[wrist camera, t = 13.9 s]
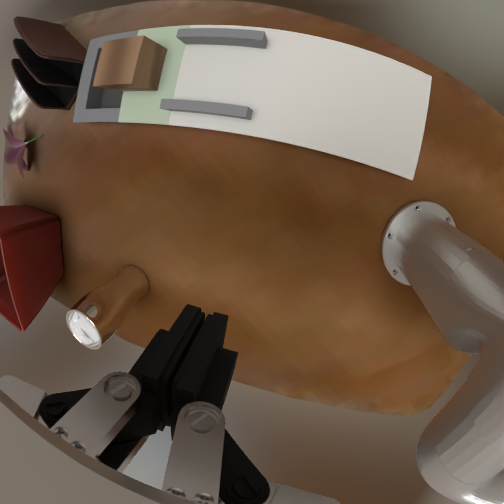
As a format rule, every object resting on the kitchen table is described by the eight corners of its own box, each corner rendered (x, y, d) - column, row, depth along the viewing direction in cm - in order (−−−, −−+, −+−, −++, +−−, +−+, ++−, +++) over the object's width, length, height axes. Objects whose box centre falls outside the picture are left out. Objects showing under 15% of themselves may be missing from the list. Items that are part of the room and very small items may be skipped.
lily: (31, 111, 36) (-6, 129, 30) (43, 107, 31) (-3, 129, 25) (42, 160, 44) (7, 180, 38) (55, 166, 39) (14, 190, 33)
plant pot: (27, 265, 50) (-21, 296, 34) (20, 189, 42) (-38, 211, 27) (76, 291, 49) (24, 335, 33) (70, 204, 41) (-1, 234, 26)
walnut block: (167, 49, 26) (144, 35, 20) (157, 90, 28) (131, 83, 23) (129, 52, 26) (103, 41, 21) (120, 91, 29) (92, 86, 23)
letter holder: (61, 24, 28) (12, 13, 15) (101, 64, 31) (39, 51, 18) (36, 63, 31) (-14, 60, 18) (70, 110, 35) (8, 112, 22)
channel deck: (419, 82, 26) (442, 71, 19) (401, 176, 31) (422, 184, 25) (105, 44, 29) (78, 35, 23) (89, 122, 35) (59, 122, 28)
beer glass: (125, 297, 46) (76, 346, 32) (114, 263, 44) (58, 306, 30) (156, 299, 45) (109, 354, 31) (146, 262, 42) (90, 310, 29)
